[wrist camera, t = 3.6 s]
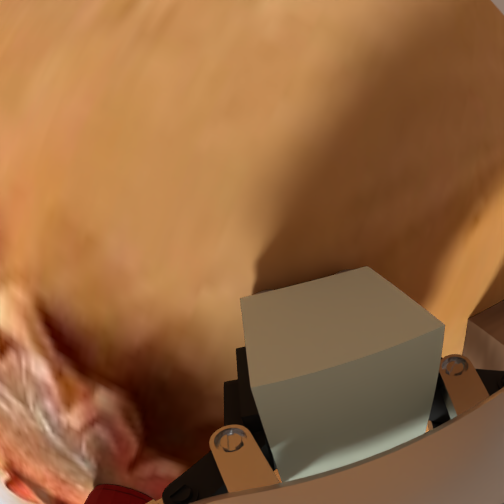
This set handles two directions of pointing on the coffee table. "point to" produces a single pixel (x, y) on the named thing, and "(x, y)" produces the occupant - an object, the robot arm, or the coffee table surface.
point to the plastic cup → (116, 495)
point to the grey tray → (486, 339)
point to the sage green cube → (339, 369)
